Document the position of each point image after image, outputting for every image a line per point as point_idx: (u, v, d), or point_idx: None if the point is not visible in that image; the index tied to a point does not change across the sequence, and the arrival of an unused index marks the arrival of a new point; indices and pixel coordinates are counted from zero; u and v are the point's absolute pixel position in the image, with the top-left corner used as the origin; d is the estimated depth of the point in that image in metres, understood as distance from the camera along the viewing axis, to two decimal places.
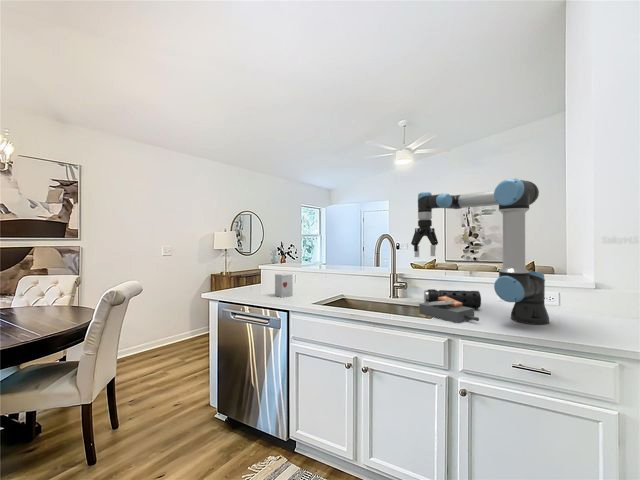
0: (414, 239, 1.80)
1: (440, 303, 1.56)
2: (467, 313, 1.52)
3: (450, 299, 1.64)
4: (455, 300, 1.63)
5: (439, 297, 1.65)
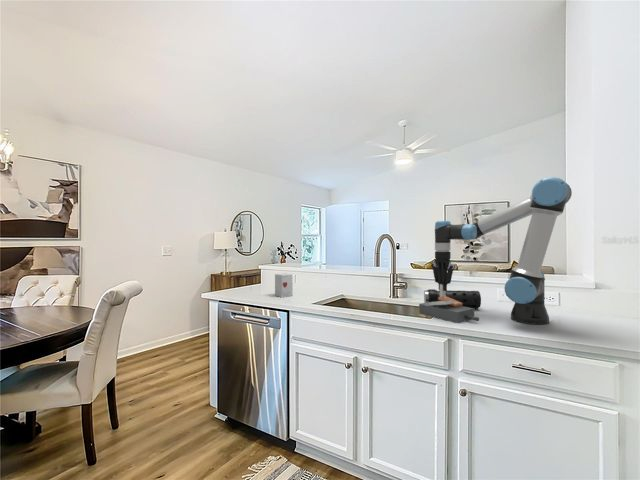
0: None
1: (440, 303, 1.56)
2: (467, 313, 1.52)
3: (450, 299, 1.64)
4: (455, 300, 1.63)
5: (439, 297, 1.65)
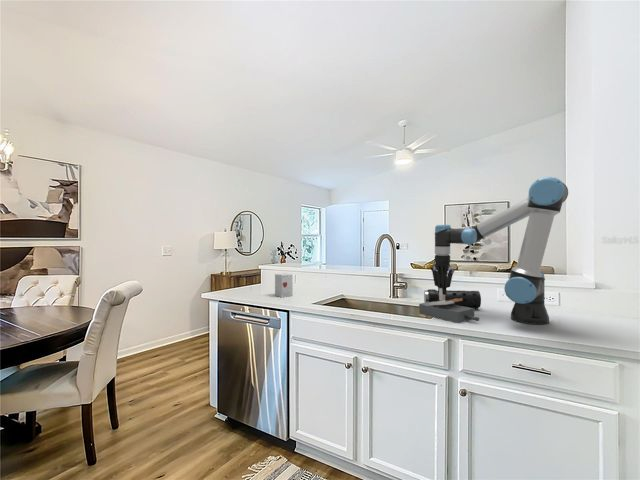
0: None
1: (440, 303, 1.56)
2: (467, 313, 1.52)
3: None
4: (454, 299, 1.63)
5: None
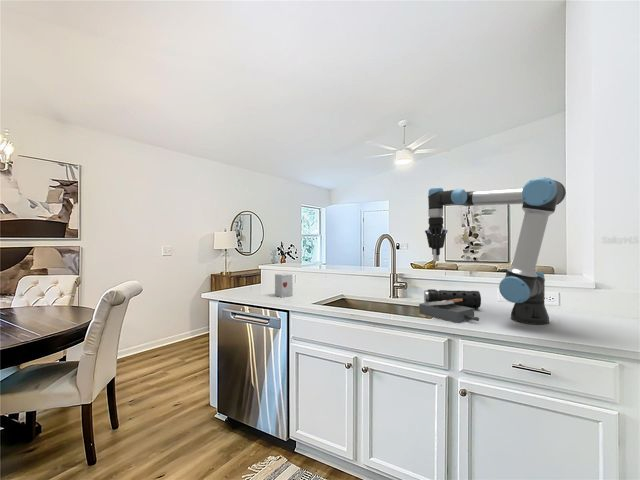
0: None
1: (440, 303, 1.56)
2: (467, 313, 1.52)
3: None
4: (454, 299, 1.63)
5: None
